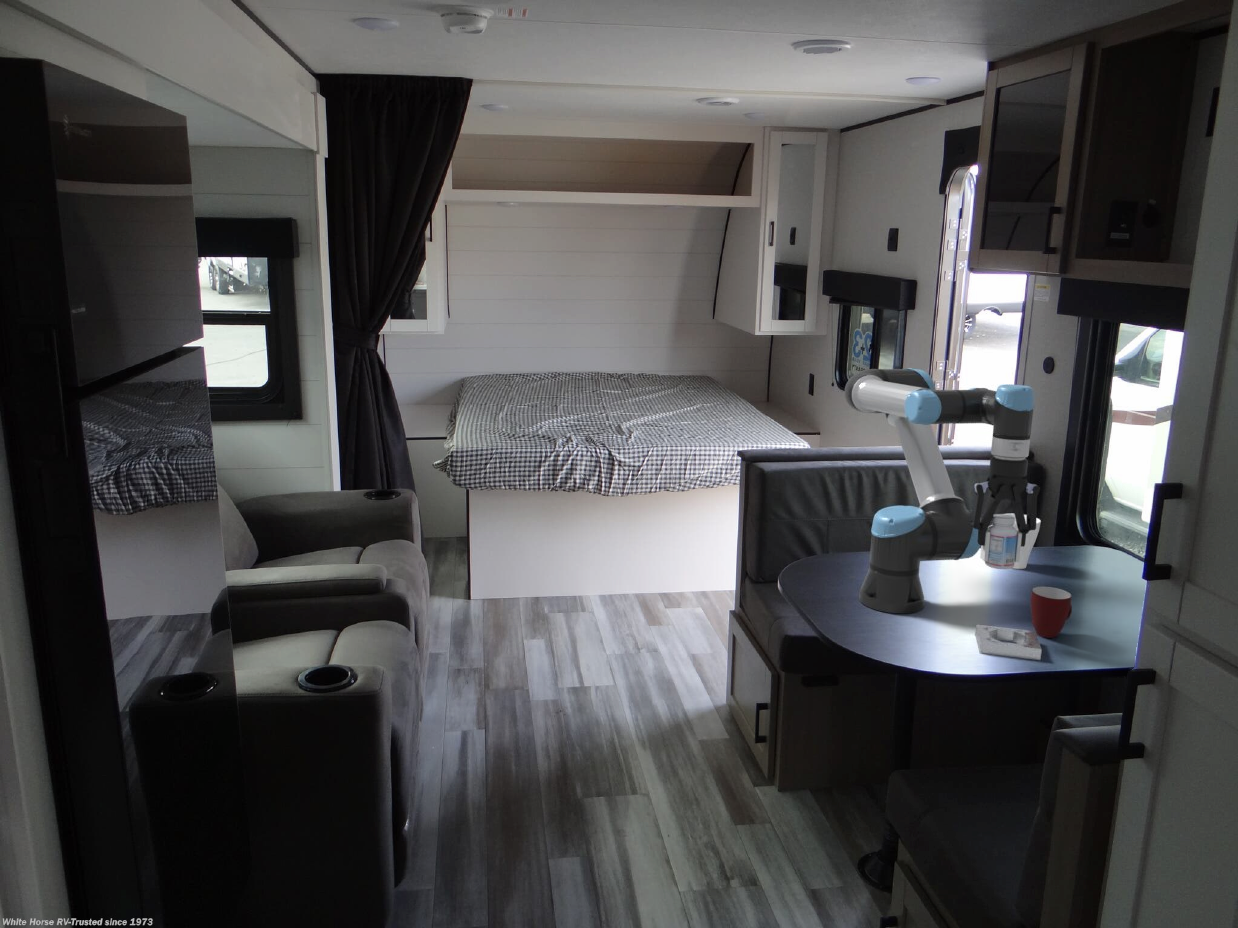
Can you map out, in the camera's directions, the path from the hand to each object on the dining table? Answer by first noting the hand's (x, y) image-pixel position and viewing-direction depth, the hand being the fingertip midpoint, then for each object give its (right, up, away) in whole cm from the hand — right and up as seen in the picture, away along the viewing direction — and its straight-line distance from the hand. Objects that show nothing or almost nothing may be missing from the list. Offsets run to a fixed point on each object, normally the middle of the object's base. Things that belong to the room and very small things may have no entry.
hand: (999, 559), depth 203 cm
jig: (0, -19, -3) cm, 19 cm away
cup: (+25, -7, +51) cm, 57 cm away
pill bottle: (0, -2, 0) cm, 2 cm away
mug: (+13, -17, +4) cm, 22 cm away
